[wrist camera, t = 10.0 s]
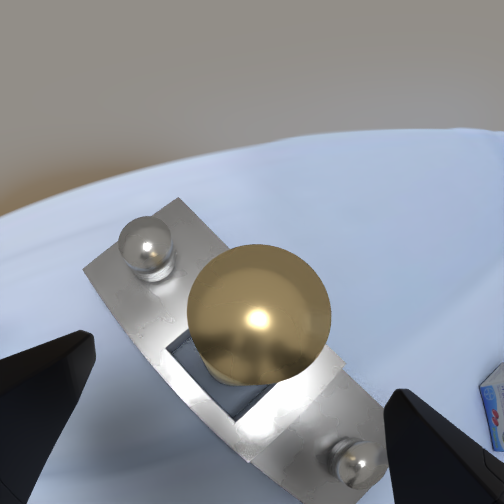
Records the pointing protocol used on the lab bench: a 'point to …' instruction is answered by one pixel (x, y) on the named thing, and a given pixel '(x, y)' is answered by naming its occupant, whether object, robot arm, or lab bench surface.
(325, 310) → the brass pin
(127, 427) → the lab bench surface
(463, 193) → the lab bench surface
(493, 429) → the medicine box
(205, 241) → the metal bracket
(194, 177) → the lab bench surface
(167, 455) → the lab bench surface
